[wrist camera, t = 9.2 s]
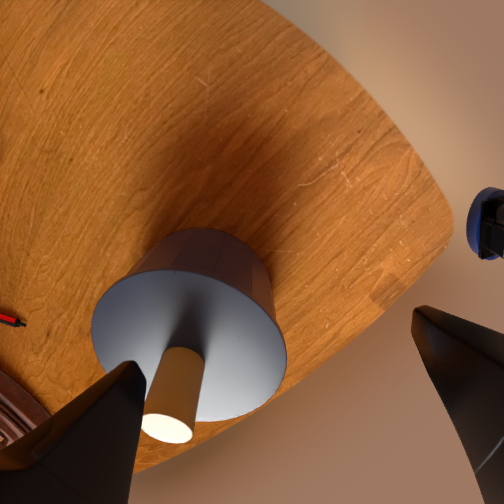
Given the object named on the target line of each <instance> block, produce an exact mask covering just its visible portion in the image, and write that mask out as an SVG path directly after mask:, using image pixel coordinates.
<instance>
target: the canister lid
mask: <svg viewBox="0 0 504 504" xmlns="http://www.w3.org/2000/svg"><path fill="white" fill-rule="evenodd" d="M91 335H92V342H93V346H94V350H95V353H96V355H97V358H98V360H99V362H100V364H101V365H102V367H103V369H104V370H105V372H106V373H109V372H110V371H111V370H113V369H114V368H115V367H117V366H118V365H119V364H120V363H122V362H123V361H128V360H134V361H136V362H137V364H138V365H139V367H140V369H141V370H142V372H143V374H144V375H145V377H146V380H147V387H146V396H145V405H144V414H143V422H142V427H141V428H142V430H143V431H144V432H146V433H147V434H148V435H150V436H152V437H153V438H156V439H158V440H161V441H164V442H169V443H184V442H187V441H189V440H190V439H191V438H192V436H193V432H194V426H195V421H201V422H207V421H221V420H227V419H232V418H236V417H239V416H242V415H244V414H247V413H249V412H251V411H253V410H255V409H257V408H258V407H260V406H261V405H263V404H264V403H265V402H266V401H268V400H269V399H270V398H271V397H272V396H273V394H274V393H275V392H276V391H277V389H278V388H279V386H280V384H281V382H282V380H283V378H284V375H285V371H286V365H287V353H286V345H285V341H284V337H283V334H282V331H281V329H280V327H279V325H278V323H277V321H276V320H275V318H274V317H273V315H272V314H271V313H270V311H269V310H268V309H267V308H266V307H265V306H264V305H263V304H262V302H261V301H259V300H258V299H257V298H256V297H255V296H253V295H252V294H251V293H250V292H248V291H247V290H245V289H244V288H242V287H241V286H239V285H238V284H236V283H234V282H232V281H230V280H228V279H226V278H224V277H222V276H219V275H216V274H214V273H211V272H208V271H204V270H200V269H196V268H191V267H183V266H157V267H149V268H145V269H142V270H138V271H135V272H133V273H130V274H128V275H126V276H124V277H122V278H121V279H119V280H118V281H117V282H115V283H114V284H113V285H112V286H111V287H110V288H109V289H108V290H107V291H106V292H105V293H104V294H103V296H102V297H101V299H100V300H99V301H98V303H97V305H96V308H95V310H94V313H93V317H92V324H91Z"/></svg>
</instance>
